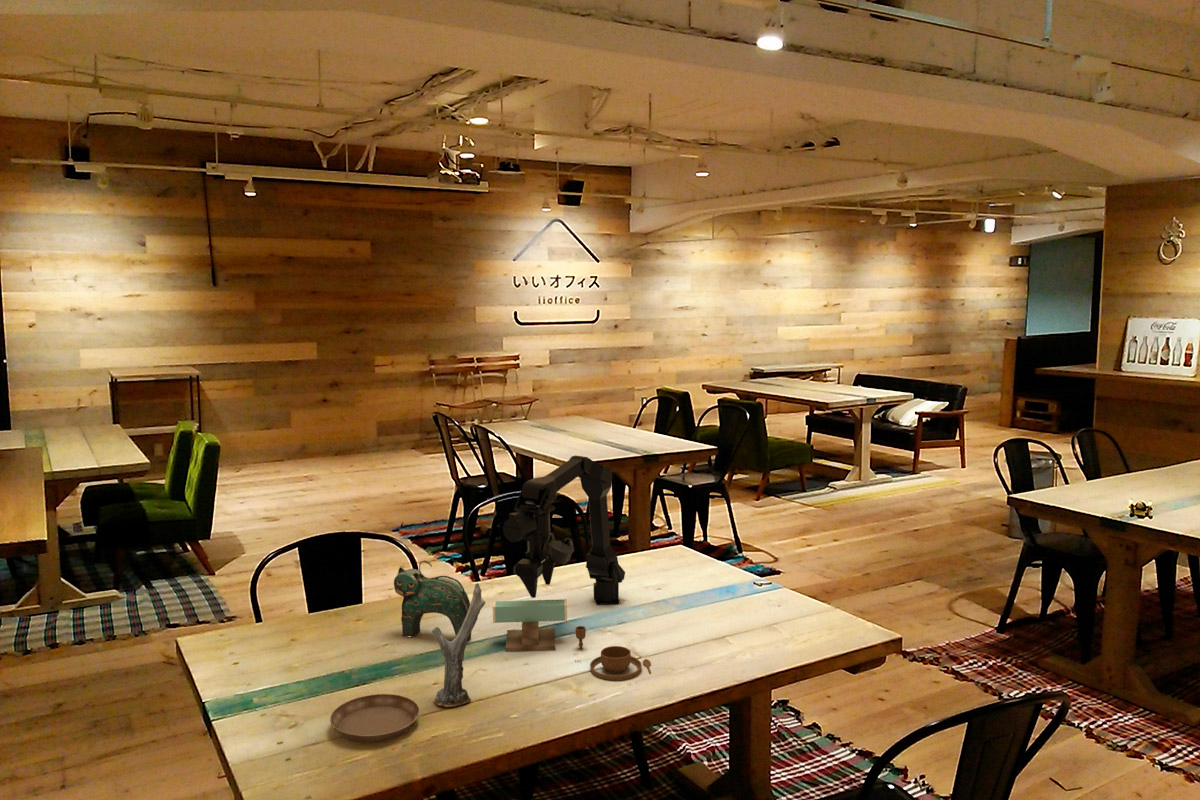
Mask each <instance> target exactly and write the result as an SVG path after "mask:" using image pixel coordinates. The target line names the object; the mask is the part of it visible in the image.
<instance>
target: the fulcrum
mask: <svg viewBox="0 0 1200 800" xmlns="http://www.w3.org/2000/svg"><path fill="white" fill-rule="evenodd" d="M539 625H540V622H521V629H507V630H506V642H505V652H508V653H509V652H534V651H535V652H538V651H539V652H541V651H556V635H555V628H539Z"/></svg>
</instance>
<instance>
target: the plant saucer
mask: <svg viewBox="0 0 1200 800" xmlns="http://www.w3.org/2000/svg"><path fill="white" fill-rule="evenodd" d="M420 711H421V709H420V706H419V705H418V703H417V702H416V701H414V700H412V699H411V698H409V697H407V696H403V695H400V694H399V695H398V694H393V693H391V694H390V693H389V694H388V693H379V694H378V693H377V694H368V695H363V696H359V697H356V698H353V699H351V700H348V701H345V702H344V703H342V704H341V705H339V706H337V707H336V708H335V709H334V710H333V711H332V713H331V715H330V718H329V720H330V724H331V726H332V727H333V729H334V730H335V731H336V732H337V733H338V734H339V735H340V736H342V737H343V738H344V739H346V740H348V741H350V742H354V743H358V744H377V743H384V742H388V741H391V740H394V739H396V738H399V737H400V736H402V735H403V734H405V733H406V732H407V731H409V730H410V729H411V727H412V726H413V725H414V724H415V722H416V721H417V719H418V718H419V716H420Z"/></svg>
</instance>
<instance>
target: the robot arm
mask: <svg viewBox="0 0 1200 800" xmlns="http://www.w3.org/2000/svg"><path fill="white" fill-rule="evenodd" d="M612 472H613V471H612V469H611V468H610V466H607V465H602V464H600V463H598V462H596V461H594V460H592V459H591V458H589V457H587V456H583V455H582V456H581V455H573V456H571V457H570V458H569V459H568V460H567V461H566V462H564V463H562V464H561V465H560V466H558V467H557V468H555V469H554V470H552V471H551V472H549V473H548V474H546V475H544V476H538V477H534V478H532V479H529V480H527V481H525V482H524V483H523V485H522V488H521V490H520V492H519V495H518V497H517V501H516V502H515V505H514V508H513V510H514V511H516V512H511V513H509V514H508V519H506V520H505V521H504V524H503V526H502V532H503V535H504V537H505V538H506V539H507V541H509V542H510V543H517V542H519V541H521V540H524V541H525V542H527V551H526V552H524V556H525V558H521V559H520V560H519V561H518V562H517V563H516V564H515V565H514V566H513V574H514V575H516V577H519V578H520V580H521V582H522V584H523V585H524V587H525V588H526V591H527V592H528V594H529V596H530V598H532V599H534V598H536V597H537V590H538V579H539V577H541V576H542V578H543V581H544V584H545V585H548V586H549V585H550V584H551V582H552V581H551V580H552V577H553V573H554V569H555V565H556V564H557V562H558V564H561V565H566V564H567V563H568V562H570V561H571V558H572V556H573V553H574V552H575V549H574V548H575V546H574V543H573V539H572V538H570V537H567V538H565V539H564V540H563V541H562V540H557V539H555V534H554V533H553V532H551V518H550V517H551V516H550V514H551V513H550V512H553V511H554V510H555V509H556V508H555V506H553V505H552V503H553V501H555V500H556V499H557V496H558V492H559V491H560V490H561V489H563V488H564V487H566V486H567V485H568V484H570V483H571V482H572V481H574V480H575V479H576V478H579V480H580V485H581V488H582V490H583V491H584V493H585V495H586V496H587V498H588V508H589V521H590V532H591V533H590V535H591V536H590V537H591V544H592V545H591V546H592V547H591V548H590V551H589V552H588V553H587V554H586V555H585V561H586V562H585V565H586V566H585V568H586V569H587V571H588V576H589V578H590V579H593V580H595V582H593V600H594V601H595V604H596V605H618V604H620V603H621V602H620V598H619V595H620V594H619V593H620V592H619V590H620V588H619V584H621V583H623V581H624V580H625V576H626V571H625V570H624V569H623V567H622V566H621V565H620V564H619V559H618V554H617V553H616V551H615V550H614V548H613V547H612V545H611V536H610V523H609V521H610V519H609V508H608V498H607V497H608V493H609V492H610V490H611V488H612V486H613V485H612V484H613V483H612V482H613V473H612ZM528 558H529V559H528Z"/></svg>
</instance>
